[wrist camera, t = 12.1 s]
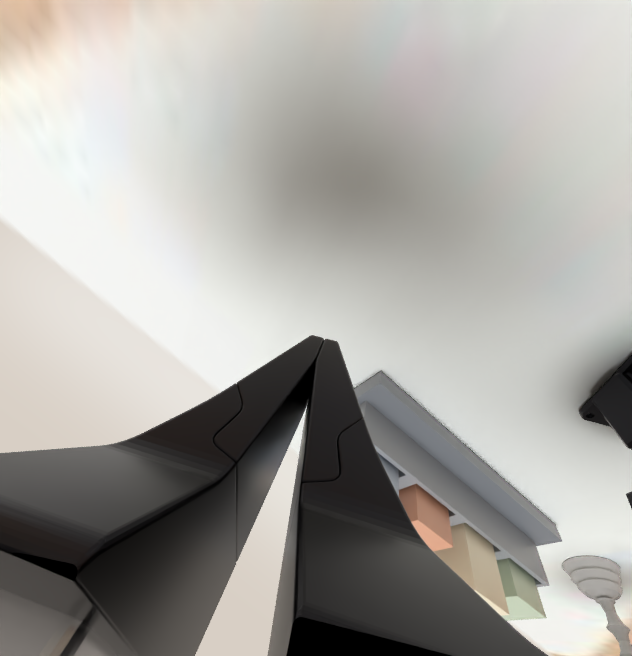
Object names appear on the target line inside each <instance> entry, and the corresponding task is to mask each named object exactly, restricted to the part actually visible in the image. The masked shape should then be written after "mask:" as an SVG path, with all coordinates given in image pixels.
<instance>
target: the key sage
mask: <svg viewBox="0 0 632 656" xmlns="http://www.w3.org/2000/svg"><path fill="white" fill-rule="evenodd" d="M497 565H498V569H499V573H500V577H501V581H502V585H503V589H504V594H505V598H506V602H507V606H508V610H509V614H510V615H504V616H502V617H503V618H504V619H505V620H506V621H507V620H523V619H540V618H546V615H545V612H544V609H543V606H542V602H541V599H540V596H539V593H538V590H537V587H536V584H535V580H534V577H533V576H532V575H531V574H529V573H528V572H527V571H526V570H524V569H523V568H522V567H521V566H519V565H518V564H517V563H516V562H514V561H513V560H512V559H511V558H506V559H501V560H497Z"/></svg>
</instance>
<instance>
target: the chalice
mask: <svg viewBox="0 0 632 656" xmlns="http://www.w3.org/2000/svg"><path fill="white" fill-rule="evenodd" d="M562 568H563V570H564V571H565V572H566V573H567V574H568V575H569V576H570V578H571V580H572V581H573V582H574V583H575V584H576V585H577V586H578V589H579V590H580V591H581V592H583V593H584V594H585V595H586V596H587V597H589V598H591V599H595V600H596V602H597V603H599V604H600V605H601V606H602V608H603V610H604V611H605V613H606V616H607V620H608V625H607V627H606V628H607V629H608V630H609V631H610V632H612V633H613V635H614V636H615V637H616V639H617V640H618V642H619V646H620V650H621V652H620V656H632V645H631V644H630V640H629V636H628V634H629V631H630V629H629V628H628V627H627V626H625V625H624V624H623V623H622V621H621V620H620V618H619V617H618V615H617V614H616V611H615V607H614V604H615V603H616V602H615V600H617V599H619V598H620V597H621V595H622V591H623V590H622V587H621V578H620V567H619V566H618V565H617V564H616V563H615V562H613V561H611V560H609V559H605V558H602V557H595V556H578V557H573V558H570V559H567V560H566V561H564V562H563V564H562Z"/></svg>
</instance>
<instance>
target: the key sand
mask: <svg viewBox="0 0 632 656" xmlns="http://www.w3.org/2000/svg"><path fill="white" fill-rule="evenodd" d="M451 533H452V540H453V547H451V548H447V549H442V550H437V551H433V552H434V553H435V554H436V555H437V556H438V557H439V558H440V559H441V560H443V561H444V562H445V563H446V564H447V565H448V566H449V567H450V568H451V569H452V570H453V571H454V572H455V573H456V574H457V575H458V576H459V577H461V578H462V579H463V580H464V581H465V582H466V583H467V584H468V585H469V586H470V587H471V588H472V589H473V590H474V591H475V592H476V593H477V594H478V595H480V596H481V597H482V598H483V599H484V600H485V601H486V602H487V603H488V604H489V605H490V606H491V607H492V608H493V609H494V610H495V611H496V612H497V613H499V614H500V615H501V616H504V615H510V614H509V610H508V606H507V602H506V598H505V594H504V589H503V585H502V581H501V577H500V573H499V569H498V565H497V560H496V556H495V552H494V548H493V544H492V543H490V542H489V541H488V540H487V539H485V538H484V537H483V536H482V535H480V534H479V533H478V532H477V531H475V530H474V529H473V528H472V527H470V526H469V525H468V524H467V523H462V524H458V525H454V526H451Z"/></svg>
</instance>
